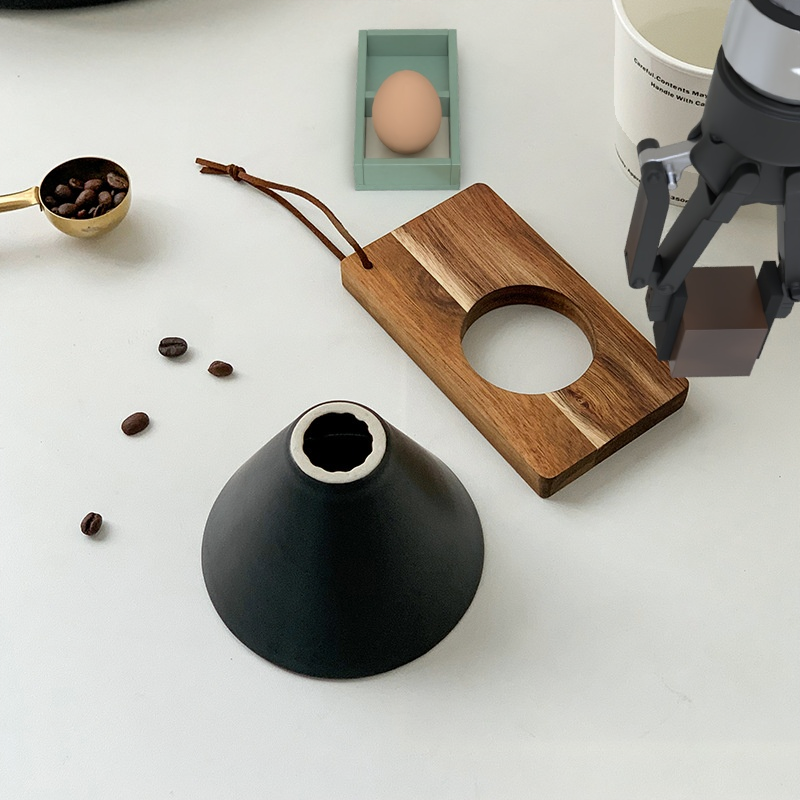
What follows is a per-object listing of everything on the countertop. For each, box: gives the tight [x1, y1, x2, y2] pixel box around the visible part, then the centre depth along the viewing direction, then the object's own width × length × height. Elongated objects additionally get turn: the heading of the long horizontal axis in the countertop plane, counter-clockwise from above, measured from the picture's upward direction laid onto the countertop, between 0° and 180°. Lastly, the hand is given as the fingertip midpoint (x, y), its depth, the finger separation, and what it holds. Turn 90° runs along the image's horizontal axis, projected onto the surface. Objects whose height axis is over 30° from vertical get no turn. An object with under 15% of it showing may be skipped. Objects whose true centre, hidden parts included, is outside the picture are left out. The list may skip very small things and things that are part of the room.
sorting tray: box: [353, 28, 462, 191], centre depth 107 cm, size 9×17×3 cm, turn 0°
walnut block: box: [668, 265, 768, 379], centre depth 75 cm, size 5×5×5 cm
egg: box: [372, 70, 442, 154], centre depth 102 cm, size 6×6×8 cm
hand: (705, 342), depth 77 cm, fingers closed on walnut block, 5 cm apart
